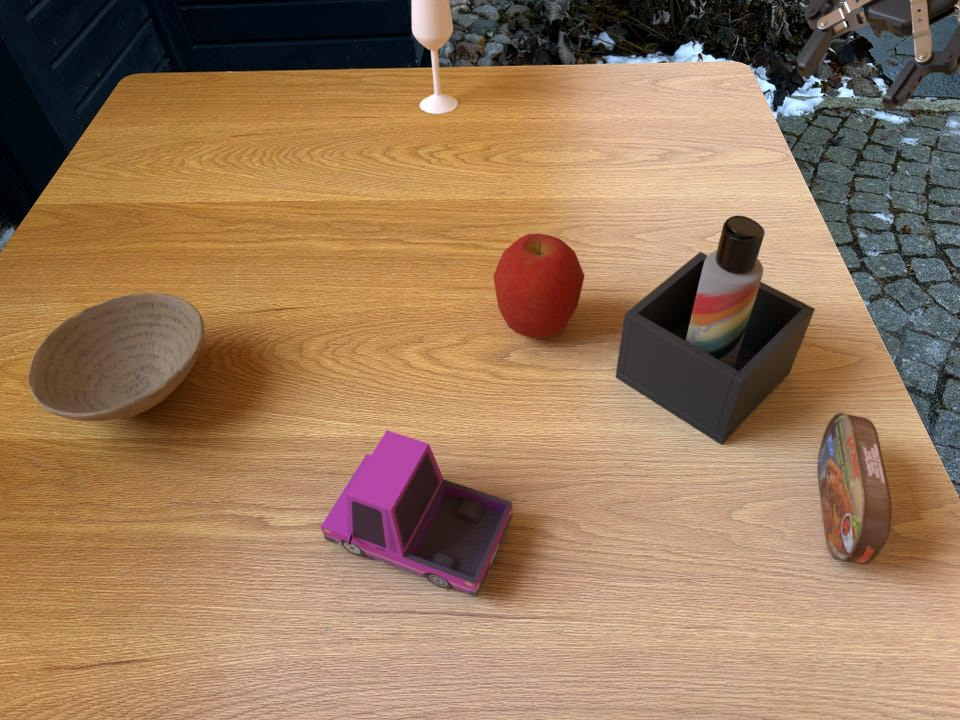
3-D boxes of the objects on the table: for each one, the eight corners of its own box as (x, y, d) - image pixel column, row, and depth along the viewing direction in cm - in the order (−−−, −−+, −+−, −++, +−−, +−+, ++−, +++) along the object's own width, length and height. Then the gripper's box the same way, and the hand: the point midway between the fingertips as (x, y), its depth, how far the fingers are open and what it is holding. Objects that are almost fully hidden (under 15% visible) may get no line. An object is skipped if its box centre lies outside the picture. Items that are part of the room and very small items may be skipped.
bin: (789, 373, 85) (815, 308, 77) (721, 445, 78) (742, 382, 71) (685, 315, 92) (700, 251, 85) (615, 377, 85) (624, 313, 78)
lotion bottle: (671, 357, 86) (702, 213, 71) (715, 346, 87) (755, 201, 72) (695, 393, 82) (733, 248, 67) (741, 380, 83) (789, 235, 68)
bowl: (58, 363, 90) (26, 315, 84) (212, 320, 94) (192, 272, 88) (59, 482, 78) (22, 435, 72) (235, 426, 82) (214, 378, 77)
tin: (813, 446, 78) (839, 393, 72) (845, 450, 77) (874, 397, 71) (829, 577, 68) (860, 529, 62) (866, 584, 67) (901, 536, 61)
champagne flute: (465, 102, 130) (457, -46, 113) (438, 117, 127) (425, -33, 110) (439, 91, 134) (427, -55, 116) (411, 105, 130) (395, -43, 113)
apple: (502, 362, 87) (500, 271, 77) (488, 305, 94) (485, 215, 84) (588, 350, 88) (598, 258, 78) (568, 295, 95) (574, 204, 85)
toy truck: (376, 468, 78) (361, 407, 71) (515, 515, 73) (515, 455, 66) (323, 555, 71) (301, 497, 64) (473, 612, 67) (467, 557, 59)
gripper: (876, -125, 65) (766, 45, 69) (1048, -91, 58) (914, 99, 61) (887, -73, 71) (785, 81, 75) (1043, -36, 64) (921, 134, 67)
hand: (843, 89), depth 68 cm, fingers open, 8 cm apart
